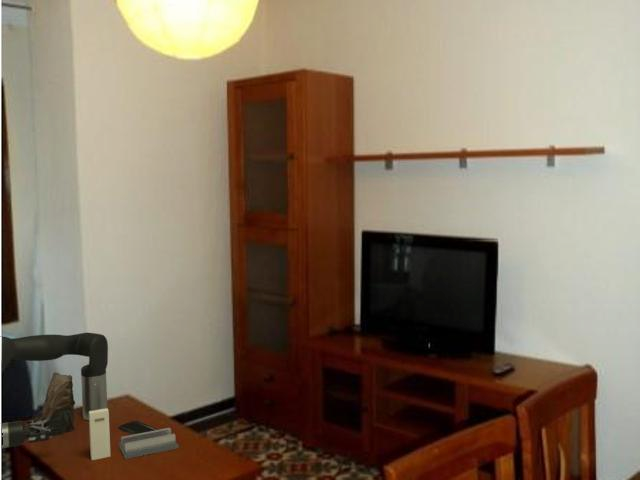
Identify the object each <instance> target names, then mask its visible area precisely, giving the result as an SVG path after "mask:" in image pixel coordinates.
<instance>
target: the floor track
mask: <svg viewBox="0 0 640 480" xmlns="http://www.w3.org/2000/svg"><path fill="white" fill-rule="evenodd" d="M179 446H180V445H179V443H177V441H176V434H175V433H172V429H171V427H165V428H161V429H158V430H155V431H150V432H144V433H139V434H134V435H132V434H130V435H125V436H121V437H120V442H119V443H118V447H119V450H120V451H121V453H122V455H123V458H124V459H125V460H130V459H133V458H134V457H135V458H139V457H143V455H144V456H148V454H149V455H152V454H153V453H154V454H157V453H162V452H167V451H172V450H177V449H179ZM138 456H139V457H138ZM135 458H134V459H135Z"/></svg>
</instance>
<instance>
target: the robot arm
mask: <svg viewBox="0 0 640 480" xmlns="http://www.w3.org/2000/svg"><path fill="white" fill-rule="evenodd" d="M1 337H2V373H4V371H5V369H6V368H7V367H8V365H9V364H10V363H11V361H28V362H41V361H42V362H43V361H53V360H57V359H60V358H62V357H64V356H68V355H72V356H73V355H74V356H75V355H76V356H82V357H87V358H88V364H86V365H83V366H82V367H81V369H80V378H81V379H80V380H81V397H82V398H81V401H82V418H83V420H87V421H89V411H94V410H100V409H106V408H108V390H107V389H108V388H107V387H108V385H107V367H108V363H109V356H108V355H109V345H108V343H109V342H108V339H107V337H106V336H105V335H103V334H100V333H96V332H95V333H94V332H81V333H77V334H70V335H66V334H65V335H64V334H37V335H29V336H28V335H27V336H23V337H15V338H10V337H8V336H1ZM1 424H2V433H3V435H2V437H3V445H2V449H6V448H12V447H18V446H23V445H25V440H28V444H32V443H39V442H45V441H46V442H47V441H49V440H50V438H52V437H56V436H61V435H64V434H65V432H64V428H63V427H60V428H54V429H46V428H48V427H54V426H60V425H61V419H60V418H59V419H53V420H48V419H46V418H41V417H40V418H37V419H31V420H26V423H25V425H24V420H18V421H17V420H15V421H12V422H11V421H10V422H3V423H1Z"/></svg>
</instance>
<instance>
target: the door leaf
mask: <svg viewBox="0 0 640 480" xmlns="http://www.w3.org/2000/svg"><path fill="white" fill-rule="evenodd" d="M109 412H110V411H109V409H108V407H107V408H106V409H100V410H94V411H89V420H88V423H89V424H88V425H89V427H88V428H89V430H88V431H89V447H90V448H89V449H90V451H89V452H90V459H91V461H95V460H101V459H103V458H104V459H105V458H111V438H110V437H111V434H110V413H109Z"/></svg>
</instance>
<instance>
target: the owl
mask: <svg viewBox="0 0 640 480" xmlns="http://www.w3.org/2000/svg"><path fill="white" fill-rule="evenodd" d="M73 386H74V384H73V376H72V375H71V374H69V375H67V374H61V373H59V372H53V374H52V377H51V380H50V382H49V385H48V387H47V390H46V394H45V400H44V403H43V406H42V411H41V414H40V415H41V416H40V419H41V418H46V419H48V420H53V419H59V418H60V419H61V425H60V426H54V427H48V428H46V429H54V428H60V427H63V428H64V433H69V432H70V433H71V432H73V431H74V430H75V426H74V421H75V417H76V415H75V408H74V406H75V404H76V402H75V399H74V390H73Z"/></svg>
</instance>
